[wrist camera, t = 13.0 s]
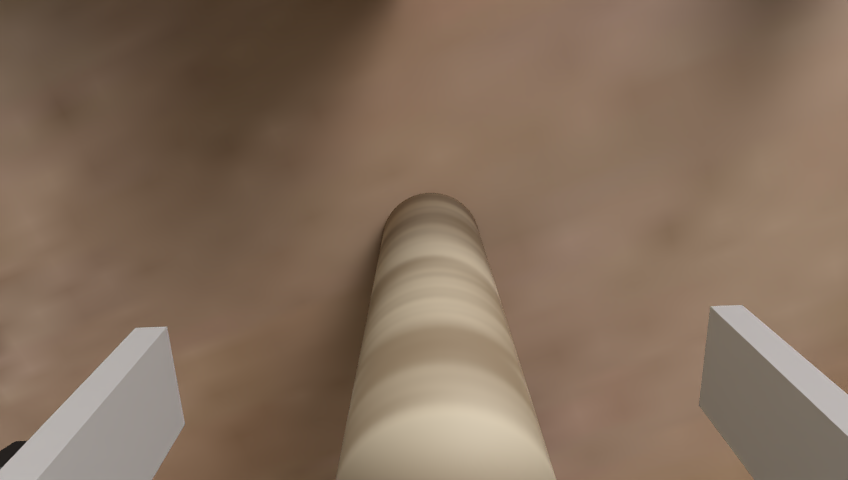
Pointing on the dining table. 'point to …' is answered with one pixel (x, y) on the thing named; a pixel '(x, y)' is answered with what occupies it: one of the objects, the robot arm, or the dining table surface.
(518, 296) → the dining table surface
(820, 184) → the dining table surface
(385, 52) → the dining table surface
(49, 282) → the dining table surface
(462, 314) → the dowel
